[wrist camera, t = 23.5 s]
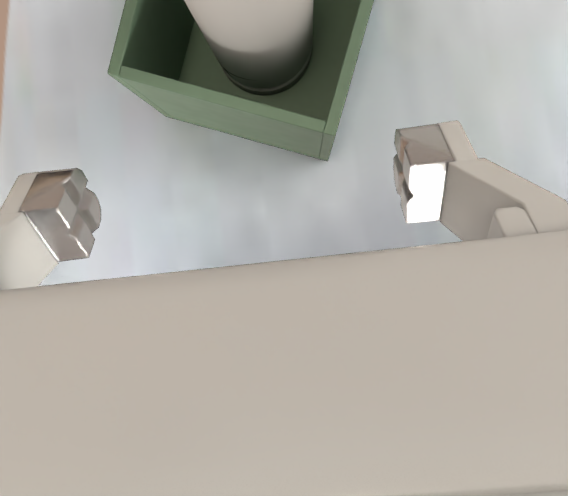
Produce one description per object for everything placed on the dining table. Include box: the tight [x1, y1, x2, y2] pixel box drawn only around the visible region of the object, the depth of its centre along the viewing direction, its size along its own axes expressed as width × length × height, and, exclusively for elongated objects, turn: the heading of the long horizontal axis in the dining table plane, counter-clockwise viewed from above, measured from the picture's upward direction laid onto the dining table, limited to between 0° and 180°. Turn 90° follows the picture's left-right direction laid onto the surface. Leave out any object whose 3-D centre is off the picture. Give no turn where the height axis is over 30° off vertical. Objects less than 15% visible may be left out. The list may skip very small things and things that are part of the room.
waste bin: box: [108, 0, 374, 161], centre depth 29 cm, size 12×12×10 cm
